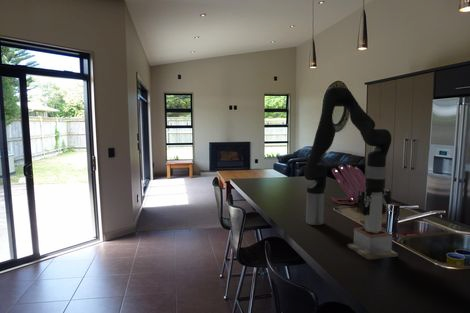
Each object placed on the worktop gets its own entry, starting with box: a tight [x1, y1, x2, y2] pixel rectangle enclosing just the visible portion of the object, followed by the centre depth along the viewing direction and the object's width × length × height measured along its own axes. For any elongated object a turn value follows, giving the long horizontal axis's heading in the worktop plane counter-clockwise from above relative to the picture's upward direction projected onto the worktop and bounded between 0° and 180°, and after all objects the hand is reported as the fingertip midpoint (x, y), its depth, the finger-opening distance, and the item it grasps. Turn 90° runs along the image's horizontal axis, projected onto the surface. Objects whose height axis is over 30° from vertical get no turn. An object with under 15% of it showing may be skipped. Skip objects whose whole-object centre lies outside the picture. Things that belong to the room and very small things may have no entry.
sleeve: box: [353, 226, 393, 255], centre depth 133 cm, size 11×11×8 cm
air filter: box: [364, 192, 384, 235], centre depth 133 cm, size 6×6×25 cm
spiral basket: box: [330, 164, 366, 205], centre depth 216 cm, size 28×28×27 cm
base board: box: [347, 242, 399, 261], centre depth 134 cm, size 14×14×1 cm
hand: (373, 214), depth 132 cm, fingers open, 8 cm apart
